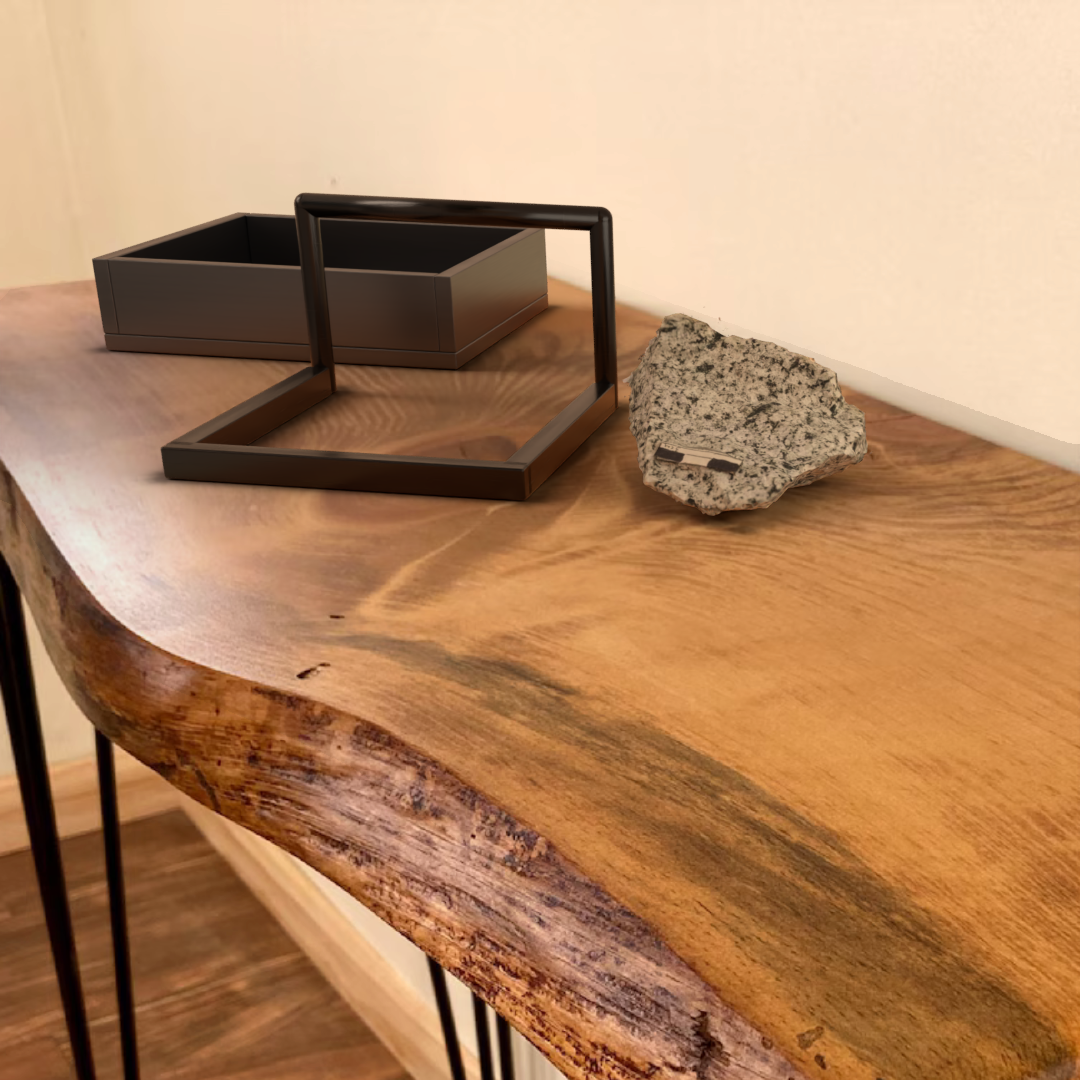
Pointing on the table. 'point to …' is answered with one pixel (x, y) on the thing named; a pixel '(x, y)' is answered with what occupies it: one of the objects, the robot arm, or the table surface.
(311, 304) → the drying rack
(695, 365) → the rock sample
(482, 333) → the black shallow open box
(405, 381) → the table surface
